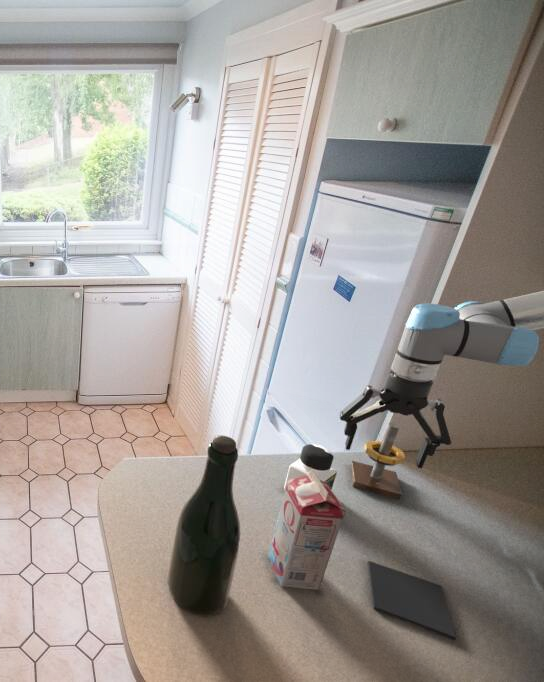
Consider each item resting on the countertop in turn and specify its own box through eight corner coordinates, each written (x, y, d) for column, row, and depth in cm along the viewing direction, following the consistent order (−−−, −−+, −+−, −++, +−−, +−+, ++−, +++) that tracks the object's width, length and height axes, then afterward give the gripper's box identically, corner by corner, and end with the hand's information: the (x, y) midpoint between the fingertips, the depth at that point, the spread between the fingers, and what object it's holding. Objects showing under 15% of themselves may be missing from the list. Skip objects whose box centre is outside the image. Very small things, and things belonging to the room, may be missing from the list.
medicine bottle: (314, 507, 101) (327, 464, 96) (283, 489, 106) (294, 447, 102) (330, 495, 105) (343, 452, 100) (299, 478, 110) (310, 437, 105)
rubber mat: (440, 587, 82) (441, 585, 82) (455, 640, 74) (456, 637, 73) (367, 562, 88) (368, 560, 87) (373, 609, 79) (374, 606, 79)
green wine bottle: (221, 571, 86) (252, 424, 73) (233, 623, 77) (271, 465, 64) (164, 563, 88) (185, 418, 75) (169, 613, 78) (194, 457, 66)
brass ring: (400, 450, 107) (401, 446, 106) (405, 468, 101) (406, 463, 100) (363, 441, 110) (364, 437, 110) (366, 458, 104) (367, 453, 104)
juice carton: (280, 585, 83) (307, 491, 75) (268, 556, 89) (291, 465, 81) (319, 590, 82) (350, 495, 74) (303, 559, 88) (331, 468, 80)
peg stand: (394, 476, 110) (415, 421, 104) (399, 499, 103) (422, 441, 97) (350, 465, 114) (367, 411, 108) (352, 486, 107) (371, 429, 101)
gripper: (344, 369, 100) (320, 447, 108) (494, 397, 89) (454, 483, 97) (342, 356, 106) (320, 432, 114) (483, 381, 95) (446, 463, 103)
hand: (381, 455), depth 106 cm, fingers open, 13 cm apart
